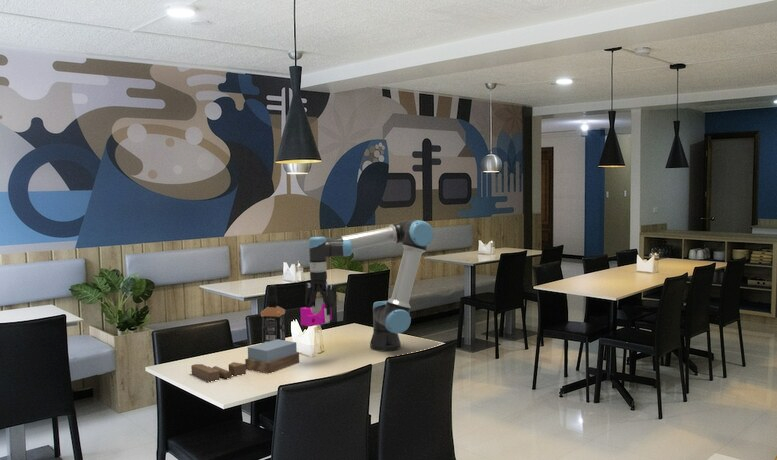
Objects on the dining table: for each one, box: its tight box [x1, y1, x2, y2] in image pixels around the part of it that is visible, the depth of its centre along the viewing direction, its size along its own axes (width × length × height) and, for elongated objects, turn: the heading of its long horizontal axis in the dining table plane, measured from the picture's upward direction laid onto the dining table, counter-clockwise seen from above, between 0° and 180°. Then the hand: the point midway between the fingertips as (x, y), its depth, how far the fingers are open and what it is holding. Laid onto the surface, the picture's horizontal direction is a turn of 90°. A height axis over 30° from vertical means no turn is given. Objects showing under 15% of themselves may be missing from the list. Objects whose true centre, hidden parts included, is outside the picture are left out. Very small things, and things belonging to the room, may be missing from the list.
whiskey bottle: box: [260, 284, 286, 344], centre depth 314 cm, size 10×10×32 cm
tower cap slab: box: [247, 339, 298, 362], centre depth 287 cm, size 12×18×5 cm, turn 143°
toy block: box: [300, 302, 332, 328], centre depth 290 cm, size 15×6×8 cm, turn 137°
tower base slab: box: [244, 351, 300, 374], centre depth 288 cm, size 14×20×5 cm
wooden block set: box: [191, 361, 247, 383], centre depth 276 cm, size 17×6×18 cm
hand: (320, 321), depth 292 cm, fingers closed on toy block, 7 cm apart
